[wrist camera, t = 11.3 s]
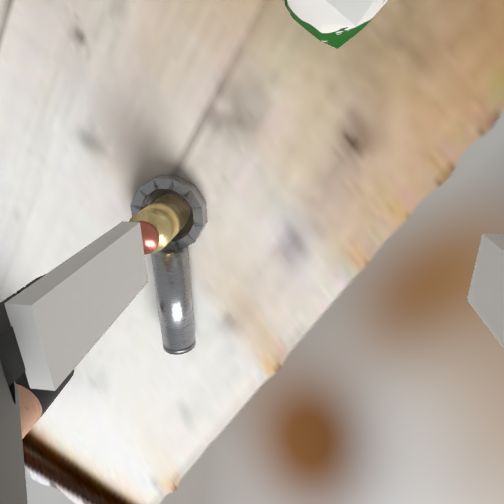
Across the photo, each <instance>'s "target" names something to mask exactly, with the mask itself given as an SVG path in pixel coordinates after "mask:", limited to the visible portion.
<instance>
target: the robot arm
mask: <svg viewBox="0 0 504 504" xmlns="http://www.w3.org/2000/svg"><path fill="white" fill-rule="evenodd" d="M147 283H148V278H147V271H146V263H145V256H144V249H143V241H142V234H141V226H140V222H121V223H120V224H118V225H117V226H115V227H114V228H112V229H111V230H110V231H108V232H107V233H105V234H104V235H102V236H101V237H99V238H98V239H97V240H95V241H94V242H92V243H91V244H89V245H88V246H86V247H85V248H84V249H82V250H81V251H79V252H78V253H76V254H75V255H73V256H72V257H71V258H69V259H68V260H66V261H65V262H63V263H62V264H60V265H59V266H58V267H56V268H55V269H53V270H52V271H50V272H49V273H47V274H45V275H43V276H41V277H38V278H36V279H35V280H33V281H32V282H30V283H29V284H28V285H26V287H23V288H22V289H20V290H19V291H17V293H16V294H15V293H14V294H13V295H11V296H10V297H8V298H7V299H6V300H4V301H3V302H1V303H0V504H27V492H26V480H25V468H24V455H23V443H22V431H21V419H20V406H19V394H18V389H17V386H16V383H15V381H16V380H17V379H18V378H19V377H20V376H21V375H22V374H23V373H24V372H25V373H26V377H27V380H28V383H29V386H30V388H31V389H41V390H51V391H55V390H56V389H57V388H58V387H59V386H60V385H61V383H62V382H63V381H64V380H65V379H66V378H67V376H68V375H69V374H70V373H71V372H72V370H73V369H74V368H75V367H76V366H77V365H78V363H79V362H80V361H81V360H82V359H83V358H84V356H85V355H86V354H87V353H88V352H89V351H90V349H91V348H92V347H93V346H94V345H95V344H96V342H97V341H98V340H99V339H100V338H101V337H102V335H103V334H104V333H105V332H106V331H107V329H108V328H109V327H110V326H111V325H112V324H113V322H114V321H115V320H116V319H117V318H118V317H119V315H120V314H121V313H122V312H123V311H124V310H125V308H126V307H127V306H128V305H129V304H130V303H131V301H132V300H133V299H134V298H135V297H136V296H137V294H138V293H139V292H140V291H141V290H142V288H143V287H144V286H145V285H146V284H147ZM467 301H468V302H469V303H470V305H471V306H472V307H473V309H474V310H475V311H476V313H477V314H478V315H479V317H480V318H481V319H482V321H483V322H484V323H485V325H486V326H487V327H488V329H489V330H490V331H491V333H492V334H493V335H494V337H495V338H496V339H497V341H498V342H499V343H500V345H501V346H502V347H503V348H504V235H502V234H501V235H500V234H483V235H482V238H481V242H480V247H479V251H478V255H477V260H476V264H475V268H474V272H473V276H472V281H471V285H470V289H469V293H468V298H467Z"/></svg>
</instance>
